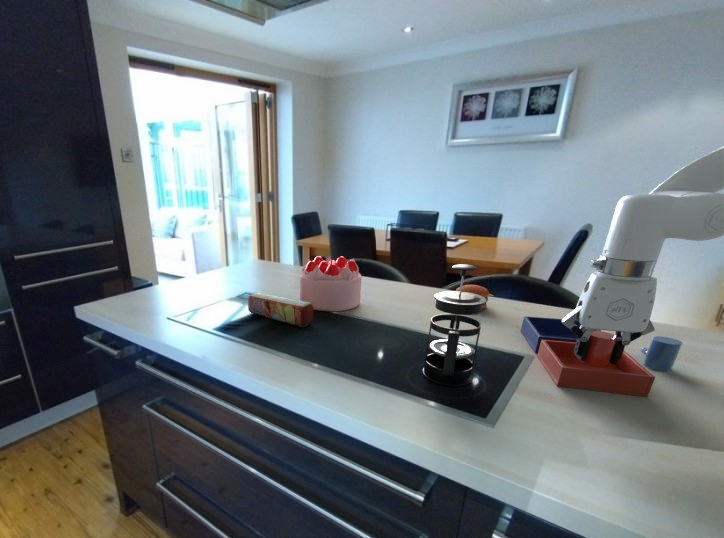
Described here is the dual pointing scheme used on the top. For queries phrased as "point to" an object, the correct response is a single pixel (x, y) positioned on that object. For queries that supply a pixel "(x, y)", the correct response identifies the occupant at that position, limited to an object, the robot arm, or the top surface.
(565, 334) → the blue bin
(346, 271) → the cake
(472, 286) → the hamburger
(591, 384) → the red bin
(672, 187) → the robot arm
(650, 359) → the blue cylinder
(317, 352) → the top surface
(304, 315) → the snack package
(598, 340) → the red block
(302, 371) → the top surface
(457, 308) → the french press
